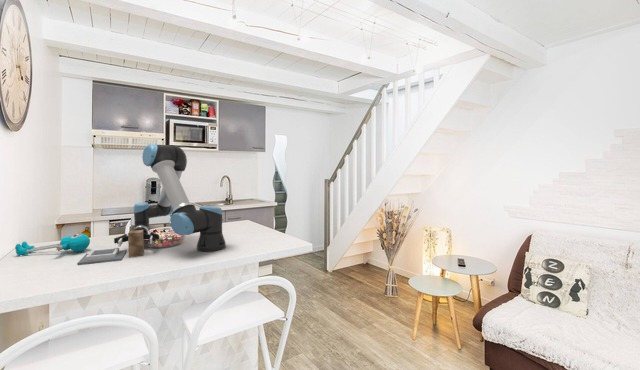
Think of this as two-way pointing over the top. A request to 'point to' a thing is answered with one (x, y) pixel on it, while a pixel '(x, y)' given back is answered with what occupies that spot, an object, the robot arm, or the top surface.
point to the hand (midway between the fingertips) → (135, 242)
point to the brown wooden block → (136, 243)
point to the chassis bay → (102, 256)
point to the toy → (58, 245)
